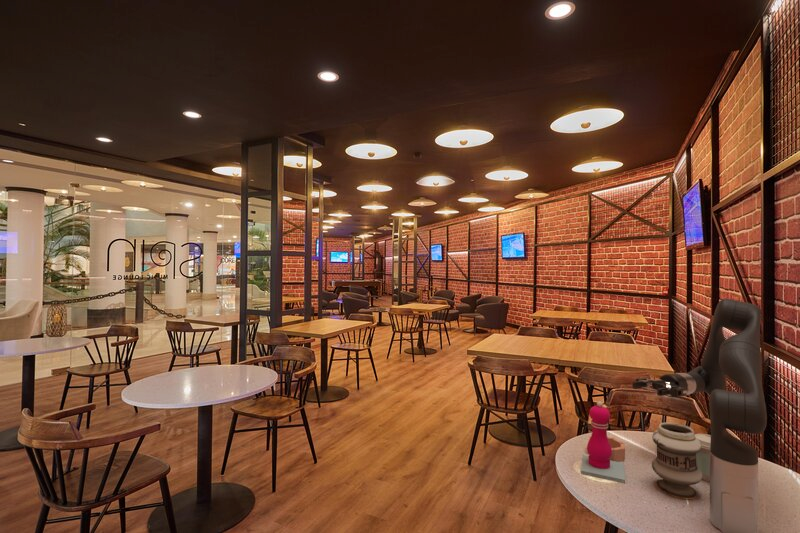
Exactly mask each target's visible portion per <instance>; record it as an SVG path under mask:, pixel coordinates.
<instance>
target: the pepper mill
mask: <svg viewBox="0 0 800 533" xmlns="http://www.w3.org/2000/svg"><path fill="white" fill-rule="evenodd" d="M588 415H589V417H590V419H591V420H590V426H591V427H592V430H591V432H592V433H591V436H590V437H591V438H590V440H589V439H588V442H587V444H586V451H587V453H588V456H589V457H588V462H589V464H590V465H592V466H594V467H596V468H601V469H606V468H609V467H610V460H609V458H610V457H611V456H612V449H611V446H610V443H609V441H608V438H607V437H608V434H607V432H608V431H607V429H608V428H609V421H610V419H611V413H610V411H609V410H608V408H606V407H604V403H603V402H602V401H601V400H600V401H597V402H596V405H594V406H592V407H591V408H590V409H589V414H588Z"/></svg>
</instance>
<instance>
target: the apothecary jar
mask: <svg viewBox="0 0 800 533" xmlns="http://www.w3.org/2000/svg"><path fill="white" fill-rule="evenodd" d="M651 435H652V436H651V437H652V438H651V439H652V441H653V443H654V444H655V445H656V456H655V458H654V459H652V461H651V468H652V470H653V472H654V473H655V474H656V475H657V476H658V477H660V478H661V479H658V480H657V481H656V482H655V486H656V488H657V489H658V490H659V491H661V492H663V493H666V495H669V496H672V497H674V498H677V499H681V500H682V499H684V500H692V499H695V498H696V497H697V496H698V494H697V491H696V490H695V489H694V488H693V487H692V486H695V485H696V484H699V483H700V482H702V480H703V479H702V473H701V471H700V469H699V468H698V467H697V464H696V453H697V452H699V451H700V450H701V443H700V441H699V440H698V439H697V438H696V437H695V431H694V429H693V428H691V427H690V426H687V425H685V424H681V423H676V422H661V423H659V424H658V428H657V429H656V430H655V431H654V432H653V433H652V434H651Z"/></svg>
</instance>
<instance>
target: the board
mask: <svg viewBox="0 0 800 533" xmlns="http://www.w3.org/2000/svg"><path fill="white" fill-rule="evenodd" d="M589 456H590V455H586V454H585V455H584V454H582V461H581V467H580V474H581V475H585V476H590V477H594V478H598V479H603V480H608V481H613V482H617V483H620V484H621V483H622V484H626V474H625V464H624V462H622V461H619V462H616V461H611V460H610V467H609V468H606V469H601V468H596V467H594V466H592V465H590V464H589V462H588V457H589Z"/></svg>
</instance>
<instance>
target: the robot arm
mask: <svg viewBox="0 0 800 533" xmlns="http://www.w3.org/2000/svg"><path fill="white" fill-rule="evenodd" d="M761 323H762V312H761V309H760V307H759V306H758V305H756V304H753V303H750V302H745V301H741V300H735V299H732V298H722V299H720V301H718V303H717V305H716V307H715V310H714V314H713V317H712V322H711V326H710V331H709V337H708V342H707V346H706V349H705V351H704V354H703V356H702V359H701V363H700V365H699V366H696V367H694V368H693V369H692V370H690V371H688V372H676V373H675V372H673V373H666V374H663V375H662V376H660V377H659V378H656V379H651V378H649V377H641V378H635V381H633V382H632V389H634V390H639V389H646V390H648V391H656V393H657V394H656V395H657V397H658V396H659V397H662V396H666V397H669V398H681V397H685V396H688V395H691V394H696V393H697V394H698V393H701V392H705V394H707V395H709V400H708V402H709V405H708V406H709V407H708V408H709V421H710V422H709V423H710V435H711V444H710V482H709V522H710V523H711V524H712V525H713V526H714V527H716V528H717V529H718V530H720V531H721V533H758V526H759V525H758V523H759V522H758V515H759V514H758V511H759V510H758V508H759V506H758V505H759V502H758V500H759V499H758V498H759V496H758V495H759V454H758V450H757V449H756V448H755V447H753V446H752V445H750V444H749V443H747V442H744V441H743V440H740V439H739V438H737V437H735V436H734V435H733V434H731V433H730V432H729V431H728V430H732V431H737V432H742V433H747V434H755V435H760V434H763V432H765V430H766V428H767V422H768V421H767V420H768V415H767V414H768V413H767V406H766V401H765V394H764V388H763V387H764V386H763V359H762V357H763V356H762V349H761V340H760V337H761V336H760V334H761V325H762V324H761ZM724 328H725V329H729V330H734V331H737V332H739V333H735V334H733V335H731V336H730V337H728V338H726V337H725V336H724V332H723V331H724V330H723V329H724ZM727 377H728V379H730V380H731V381H732V382H733V383H734V384H735V385H736V386H737V387H738V388H739V389H740V390H741V391H742V392H740V391H733V390H732V391H731V390H726V389H725V388H726V386H727ZM727 429H728V430H727Z"/></svg>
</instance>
